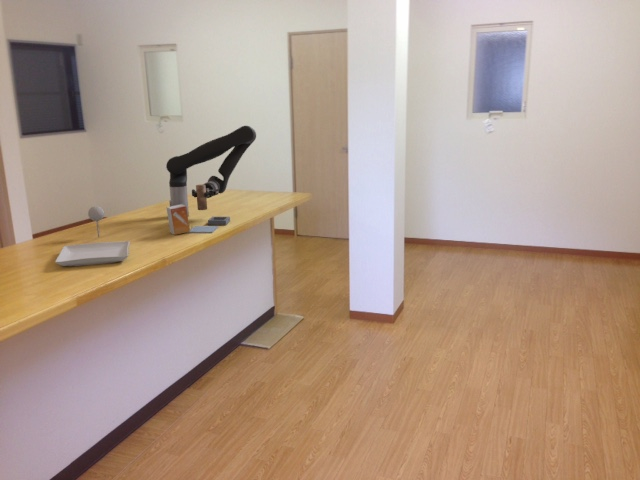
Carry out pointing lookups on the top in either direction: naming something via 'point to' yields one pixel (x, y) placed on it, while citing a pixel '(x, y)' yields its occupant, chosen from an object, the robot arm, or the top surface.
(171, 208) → the small box
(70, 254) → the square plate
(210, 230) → the mat
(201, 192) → the plug
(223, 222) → the socket
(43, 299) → the top surface
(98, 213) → the lollipop
